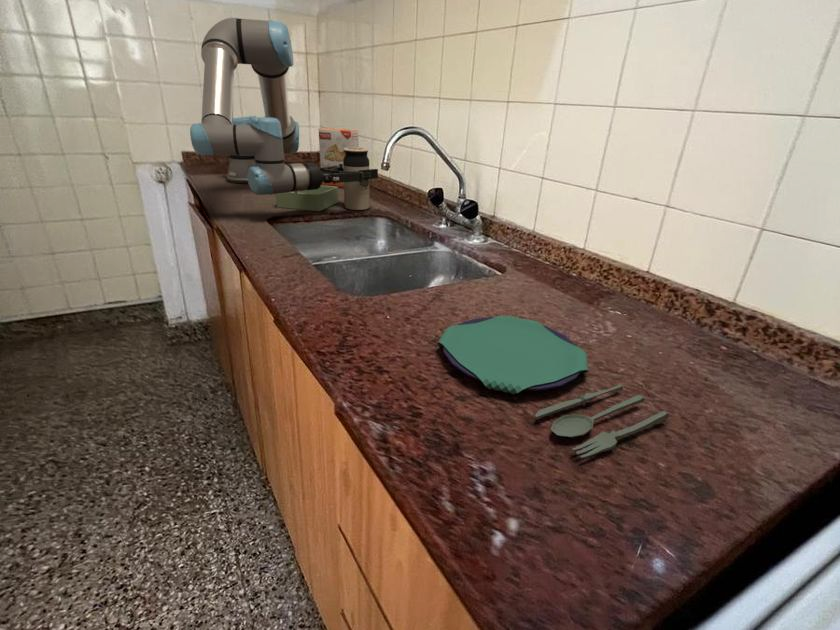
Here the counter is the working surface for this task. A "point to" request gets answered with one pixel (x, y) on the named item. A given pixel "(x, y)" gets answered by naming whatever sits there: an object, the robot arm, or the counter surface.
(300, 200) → the crate
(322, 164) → the cracker box
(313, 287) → the counter surface
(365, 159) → the travel mug
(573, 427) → the cutlery set
